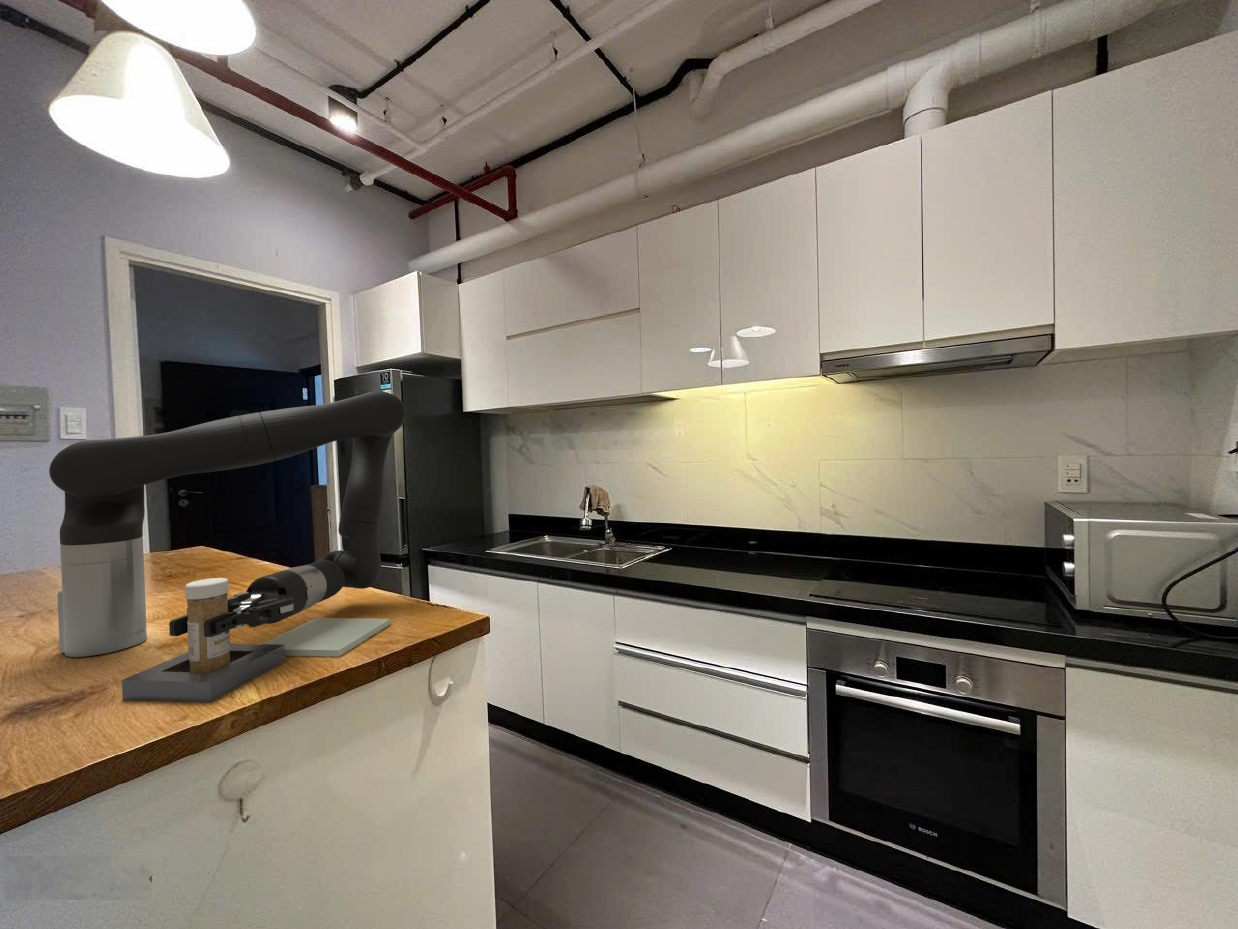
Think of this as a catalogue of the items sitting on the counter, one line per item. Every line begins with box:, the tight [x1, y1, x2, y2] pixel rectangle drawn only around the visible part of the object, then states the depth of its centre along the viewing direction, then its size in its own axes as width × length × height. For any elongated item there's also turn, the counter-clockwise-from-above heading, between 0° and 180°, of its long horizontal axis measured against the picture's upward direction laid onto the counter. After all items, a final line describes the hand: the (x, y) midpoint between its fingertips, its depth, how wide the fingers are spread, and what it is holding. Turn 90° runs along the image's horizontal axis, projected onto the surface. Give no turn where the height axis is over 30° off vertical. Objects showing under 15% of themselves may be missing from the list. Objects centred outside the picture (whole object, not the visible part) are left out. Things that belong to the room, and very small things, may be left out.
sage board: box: [262, 617, 391, 658], centre depth 82 cm, size 14×14×1 cm
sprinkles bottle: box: [184, 577, 231, 673], centre depth 67 cm, size 5×5×14 cm
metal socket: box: [121, 643, 286, 703], centre depth 67 cm, size 12×12×2 cm
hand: (189, 629), depth 64 cm, fingers closed on sprinkles bottle, 4 cm apart
